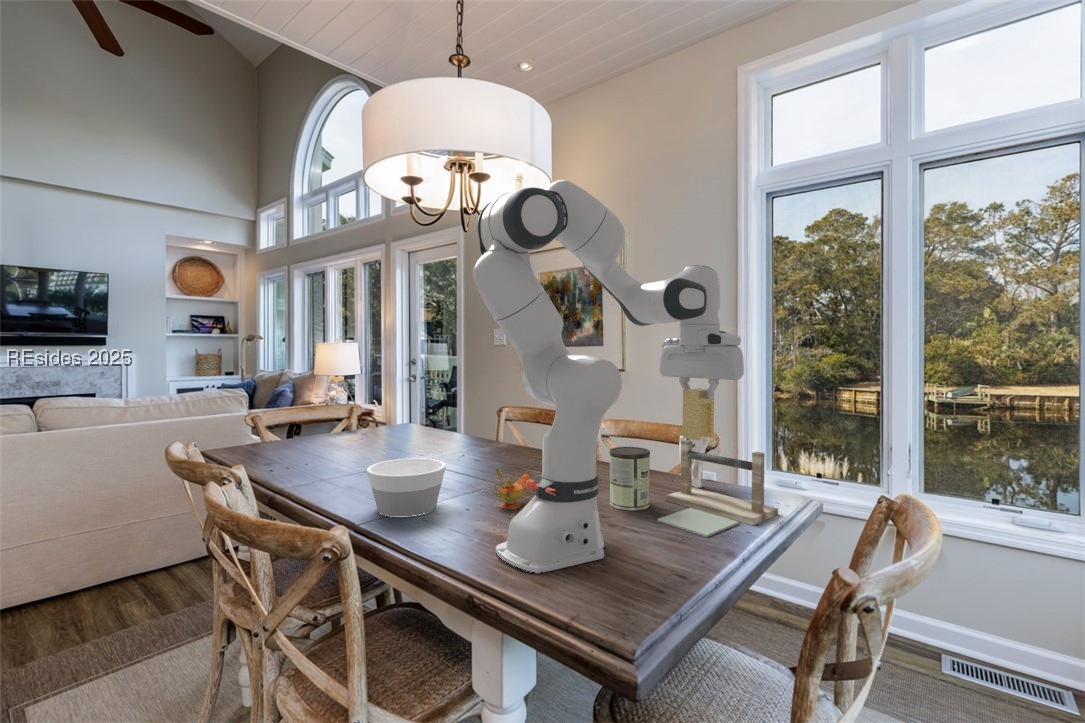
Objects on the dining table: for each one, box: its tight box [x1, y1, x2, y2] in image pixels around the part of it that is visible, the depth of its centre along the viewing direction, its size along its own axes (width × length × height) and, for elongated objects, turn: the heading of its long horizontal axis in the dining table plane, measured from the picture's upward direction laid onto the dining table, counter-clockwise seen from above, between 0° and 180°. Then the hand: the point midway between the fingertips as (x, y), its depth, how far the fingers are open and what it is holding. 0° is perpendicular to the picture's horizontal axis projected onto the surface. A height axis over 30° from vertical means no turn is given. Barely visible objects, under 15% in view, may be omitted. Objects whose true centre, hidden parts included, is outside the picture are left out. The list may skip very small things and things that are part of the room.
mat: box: [656, 507, 740, 538], centre depth 116 cm, size 13×13×1 cm
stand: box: [665, 440, 779, 526], centre depth 127 cm, size 12×24×16 cm, turn 39°
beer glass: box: [678, 433, 705, 489], centre depth 146 cm, size 7×7×15 cm
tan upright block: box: [681, 388, 715, 440], centre depth 115 cm, size 6×4×11 cm, turn 129°
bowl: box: [366, 457, 447, 516], centre depth 126 cm, size 19×19×11 cm
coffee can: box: [609, 446, 651, 511], centre depth 129 cm, size 10×10×14 cm
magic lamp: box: [494, 468, 533, 510], centre depth 130 cm, size 7×18×11 cm, turn 152°
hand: (698, 398), depth 115 cm, fingers closed on tan upright block, 4 cm apart
